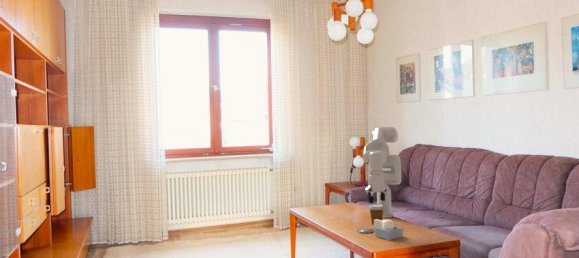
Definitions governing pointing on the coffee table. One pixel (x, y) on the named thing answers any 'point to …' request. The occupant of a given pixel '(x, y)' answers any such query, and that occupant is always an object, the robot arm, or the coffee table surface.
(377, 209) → the disposable coffee cup
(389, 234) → the holder
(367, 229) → the grey round disc
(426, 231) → the coffee table surface
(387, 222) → the white lever knob
